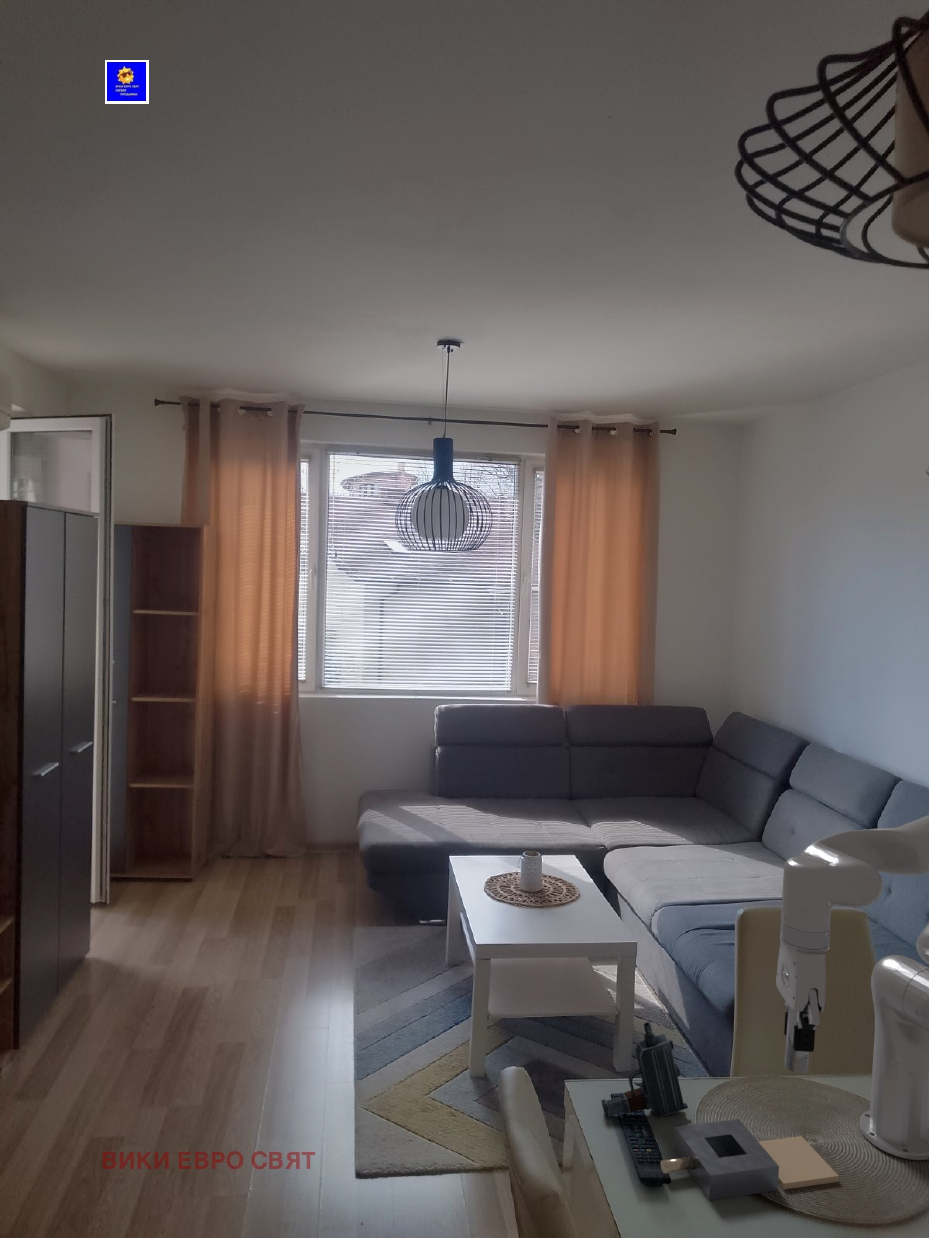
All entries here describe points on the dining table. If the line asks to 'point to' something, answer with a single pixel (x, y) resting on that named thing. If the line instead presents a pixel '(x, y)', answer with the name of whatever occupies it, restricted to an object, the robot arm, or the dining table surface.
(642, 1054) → the gun
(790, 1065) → the silver metal rod
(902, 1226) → the dining table surface
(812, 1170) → the pad
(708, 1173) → the block
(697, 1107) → the dining table surface
